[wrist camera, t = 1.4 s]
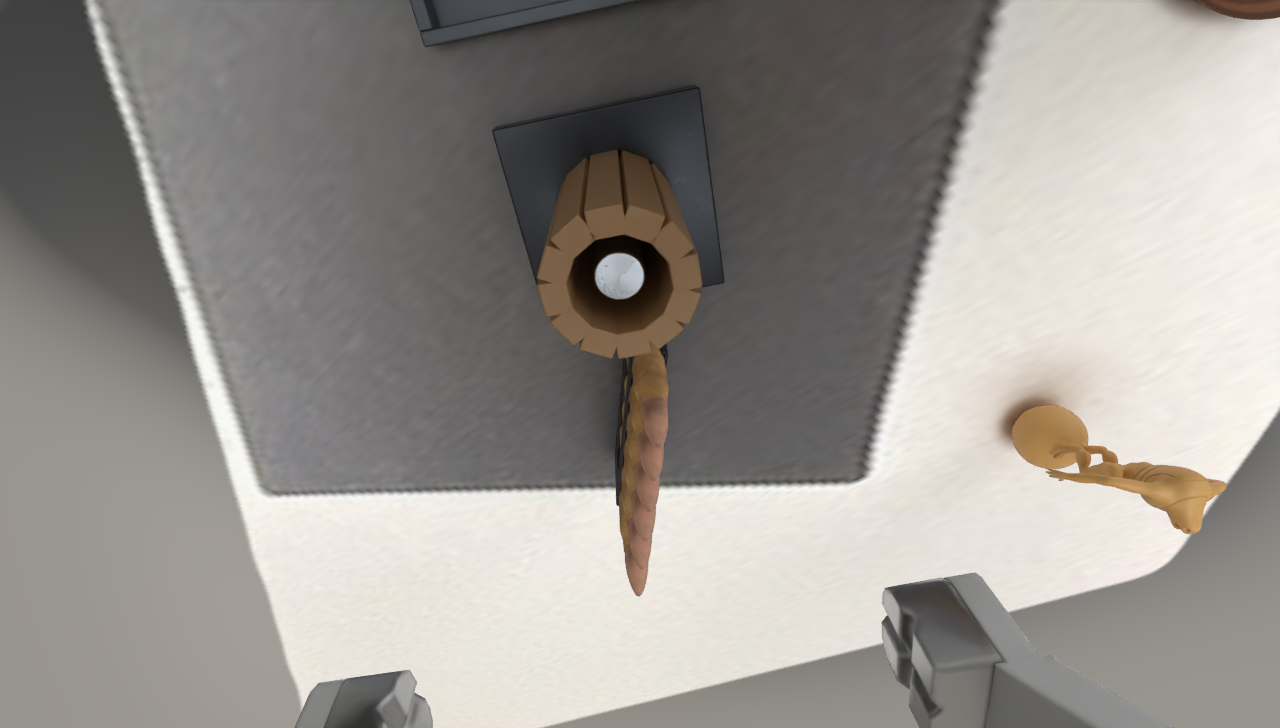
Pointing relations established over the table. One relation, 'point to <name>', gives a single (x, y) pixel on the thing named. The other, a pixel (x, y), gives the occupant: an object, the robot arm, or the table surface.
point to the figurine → (1111, 466)
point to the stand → (638, 126)
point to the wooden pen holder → (606, 207)
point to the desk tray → (493, 15)
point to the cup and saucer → (1245, 8)
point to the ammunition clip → (640, 456)
